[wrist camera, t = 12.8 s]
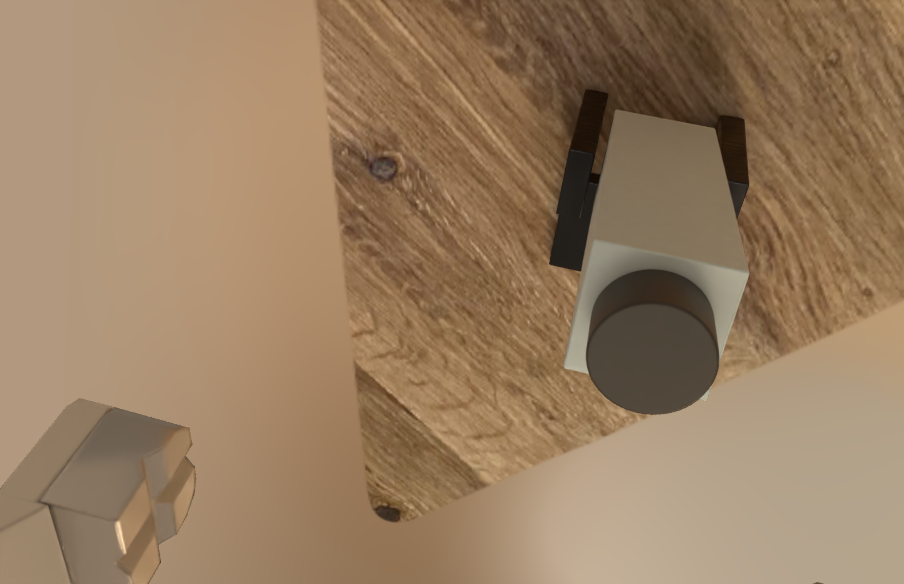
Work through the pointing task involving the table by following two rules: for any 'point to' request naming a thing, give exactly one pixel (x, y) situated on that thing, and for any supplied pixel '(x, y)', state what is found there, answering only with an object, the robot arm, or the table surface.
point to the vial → (658, 267)
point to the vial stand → (583, 184)
